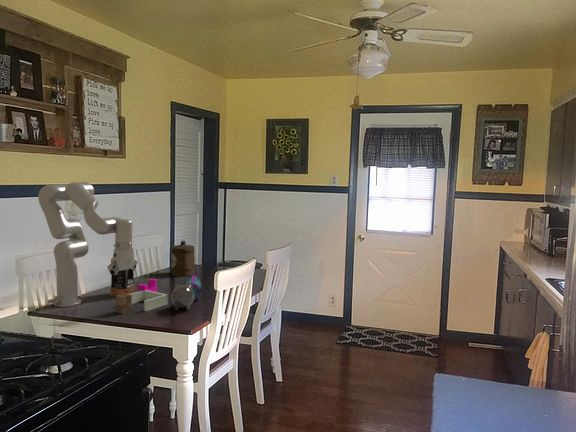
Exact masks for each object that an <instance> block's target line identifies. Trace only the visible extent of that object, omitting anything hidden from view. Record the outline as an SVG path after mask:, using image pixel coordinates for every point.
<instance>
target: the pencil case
mask: <svg viewBox="0 0 576 432" xmlns="http://www.w3.org/2000/svg"><path fill="white" fill-rule="evenodd" d="M188 284H191V285H192V290H193V292H194V300H193V301H196V300H198V299H199V298H200V297H201V295H202V293H203V289H202V288H201V287H202V286H201V285H202V284H201V279H200V278H199V277H197V274H193V275H190V276H188V278H186V280H185V283H184V285H188Z"/></svg>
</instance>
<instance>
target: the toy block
mask: <svg viewBox="0 0 576 432" xmlns="http://www.w3.org/2000/svg"><path fill="white" fill-rule="evenodd" d="M157 285H158V279H157V278H149V279H148V284H147V283H146V284H145V283H140V284H138V285H137V292H139V291H145V290H147V291H152V292H158V286H157ZM158 293H159V292H158Z"/></svg>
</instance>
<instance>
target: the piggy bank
mask: <svg viewBox="0 0 576 432" xmlns="http://www.w3.org/2000/svg"><path fill="white" fill-rule="evenodd" d="M170 299H171V302H172V304H173V305H174V310H175V311H179V310H180V309H184V308H185V310H186V311H189V310H190V309H191V305H192V303H194V301H195V300H194V292H193V290H192V285H191V284H188V285H185V284H182V285H181V284H179V283H178V284H177V283H176V284H175V286H174V289H173V290H172V292H171V295H170Z"/></svg>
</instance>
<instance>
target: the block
mask: <svg viewBox="0 0 576 432" xmlns="http://www.w3.org/2000/svg"><path fill="white" fill-rule="evenodd" d="M115 306H116V307H115V312H116V313H118V312H119V313H118V314H123V315H124V314H128V313H130V312H132V311H133V304H132V295H129V294H125V293H124V294H120V295H117V296H115Z"/></svg>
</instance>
